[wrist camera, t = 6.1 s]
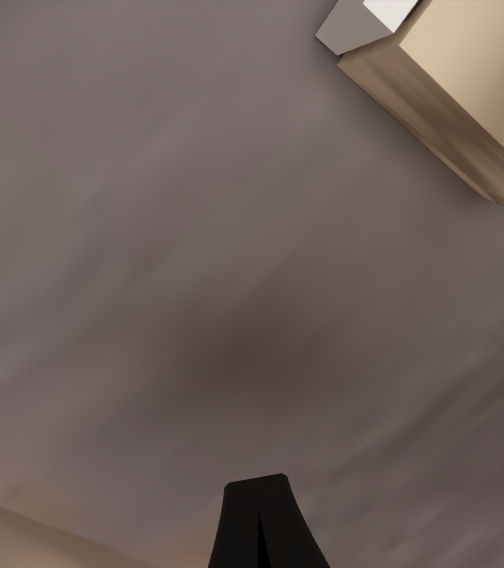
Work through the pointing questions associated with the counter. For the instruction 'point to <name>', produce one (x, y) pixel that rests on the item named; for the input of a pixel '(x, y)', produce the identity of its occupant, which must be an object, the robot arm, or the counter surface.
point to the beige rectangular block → (444, 84)
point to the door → (361, 22)
